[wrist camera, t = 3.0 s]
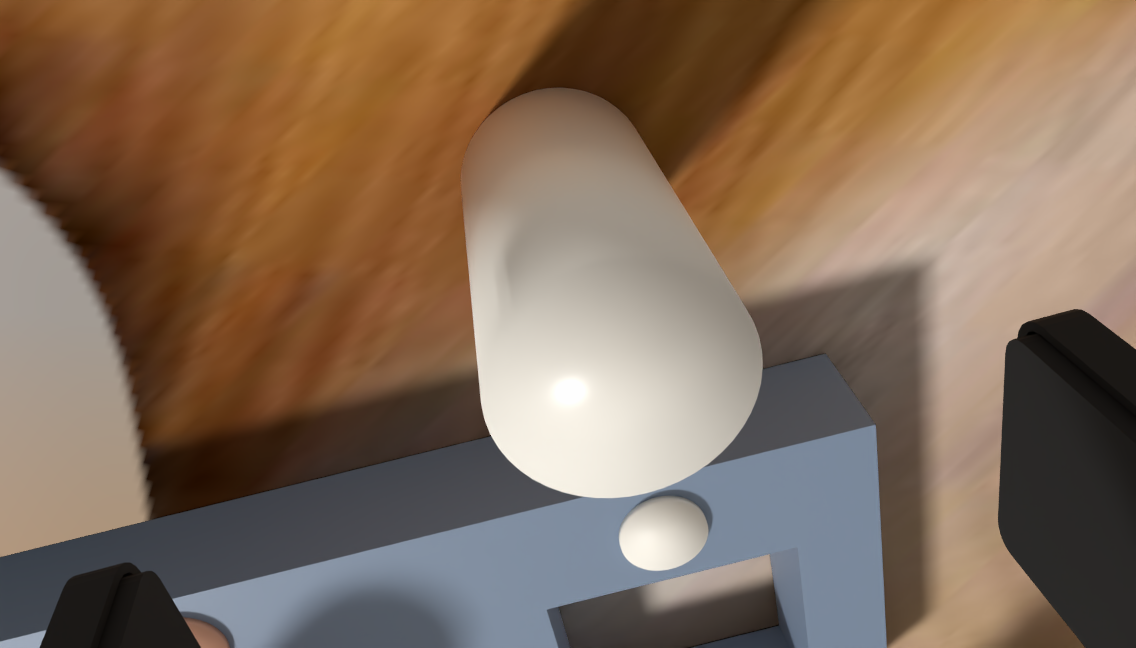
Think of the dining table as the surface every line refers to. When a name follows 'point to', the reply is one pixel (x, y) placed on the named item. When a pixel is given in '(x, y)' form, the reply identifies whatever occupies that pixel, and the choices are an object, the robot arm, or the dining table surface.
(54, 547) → the slot rack
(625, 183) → the cream plug
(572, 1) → the dining table surface
